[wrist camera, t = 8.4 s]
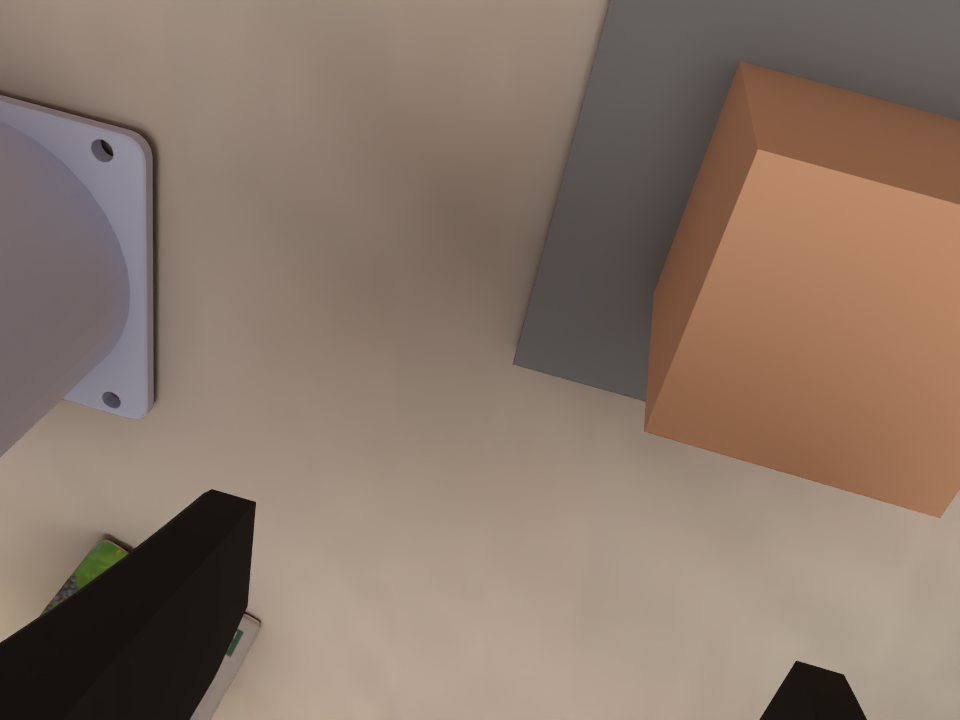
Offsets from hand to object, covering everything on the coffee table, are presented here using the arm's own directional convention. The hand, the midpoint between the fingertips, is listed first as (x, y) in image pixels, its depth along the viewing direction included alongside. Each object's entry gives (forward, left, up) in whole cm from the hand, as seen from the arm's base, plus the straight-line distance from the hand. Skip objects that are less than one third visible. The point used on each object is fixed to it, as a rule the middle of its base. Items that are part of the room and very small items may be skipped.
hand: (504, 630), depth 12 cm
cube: (+4, +3, -9) cm, 11 cm away
